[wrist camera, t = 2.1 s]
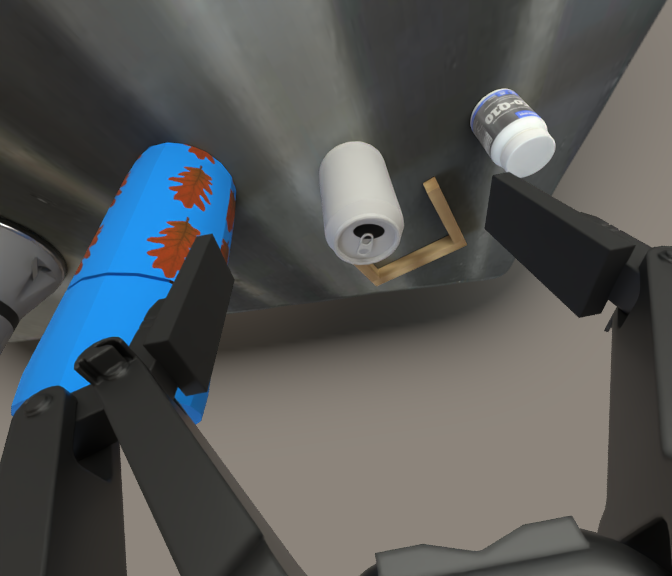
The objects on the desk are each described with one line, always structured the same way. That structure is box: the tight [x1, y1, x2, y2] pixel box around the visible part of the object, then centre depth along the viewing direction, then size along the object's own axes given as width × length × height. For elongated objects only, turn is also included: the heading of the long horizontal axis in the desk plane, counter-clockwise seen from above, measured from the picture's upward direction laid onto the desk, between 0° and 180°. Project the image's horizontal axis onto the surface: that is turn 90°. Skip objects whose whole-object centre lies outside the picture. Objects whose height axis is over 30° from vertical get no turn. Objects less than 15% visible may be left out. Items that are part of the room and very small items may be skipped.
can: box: [319, 142, 404, 265], centre depth 32 cm, size 8×8×12 cm
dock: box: [354, 177, 467, 286], centre depth 44 cm, size 15×12×2 cm
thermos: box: [11, 142, 236, 425], centre depth 28 cm, size 11×11×25 cm
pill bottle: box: [470, 89, 555, 178], centre depth 29 cm, size 5×5×8 cm
